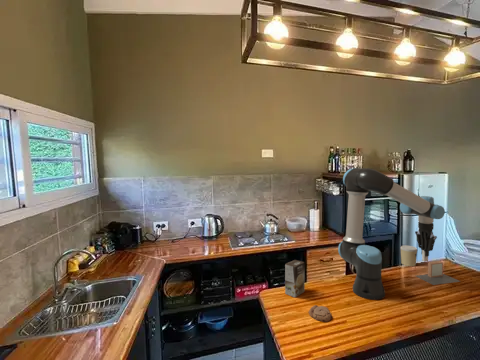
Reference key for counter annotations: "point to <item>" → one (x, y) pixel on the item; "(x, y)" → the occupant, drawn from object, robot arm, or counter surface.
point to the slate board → (437, 279)
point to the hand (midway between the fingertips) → (425, 260)
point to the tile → (435, 269)
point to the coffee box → (294, 278)
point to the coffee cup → (408, 255)
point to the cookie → (320, 313)
